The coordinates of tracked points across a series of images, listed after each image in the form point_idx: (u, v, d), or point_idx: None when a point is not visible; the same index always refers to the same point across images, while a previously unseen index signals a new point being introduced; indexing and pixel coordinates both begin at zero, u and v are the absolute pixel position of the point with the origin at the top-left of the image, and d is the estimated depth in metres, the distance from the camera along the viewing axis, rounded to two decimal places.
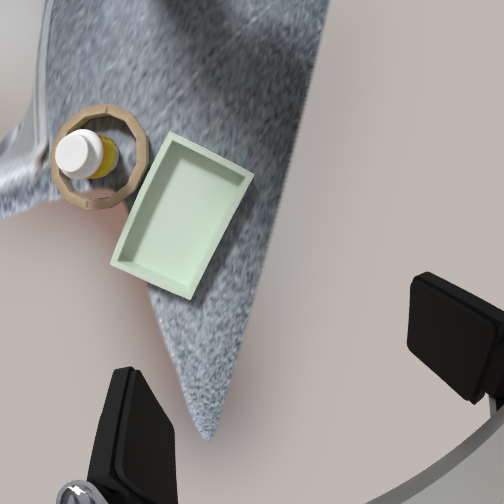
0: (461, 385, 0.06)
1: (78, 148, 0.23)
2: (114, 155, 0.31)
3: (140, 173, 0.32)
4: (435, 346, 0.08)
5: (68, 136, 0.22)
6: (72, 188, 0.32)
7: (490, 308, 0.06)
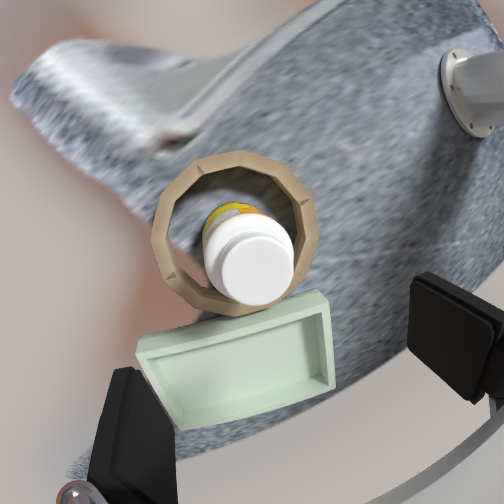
0: (461, 385, 0.06)
1: (274, 280, 0.16)
2: None
3: (260, 308, 0.25)
4: (435, 346, 0.08)
5: (280, 247, 0.15)
6: (168, 229, 0.23)
7: (490, 308, 0.06)
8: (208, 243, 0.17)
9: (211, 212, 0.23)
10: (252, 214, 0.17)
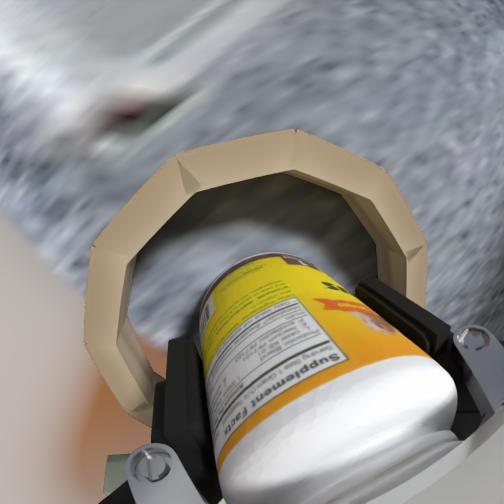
0: None
1: None
2: None
3: None
4: None
5: None
6: (125, 312, 0.10)
7: (428, 318, 0.06)
8: (234, 470, 0.04)
9: (218, 278, 0.10)
10: (395, 369, 0.04)
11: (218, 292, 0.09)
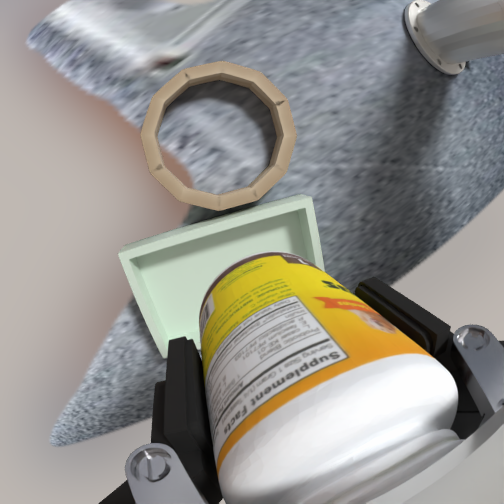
0: None
1: None
2: None
3: (243, 202, 0.25)
4: None
5: None
6: (157, 131, 0.24)
7: (428, 318, 0.06)
8: (234, 469, 0.04)
9: (218, 277, 0.10)
10: (395, 367, 0.04)
11: (218, 291, 0.09)
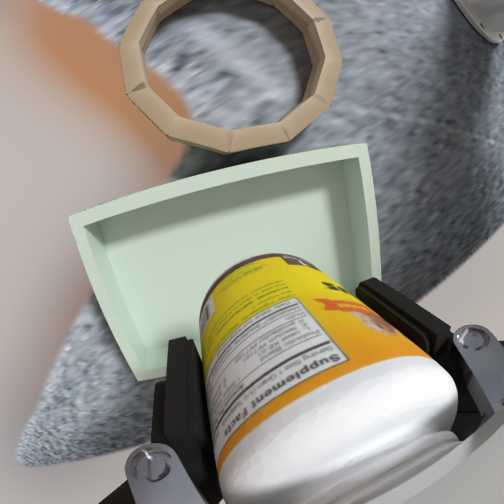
0: None
1: None
2: None
3: (267, 141, 0.16)
4: None
5: None
6: (145, 46, 0.14)
7: (428, 318, 0.06)
8: (234, 471, 0.04)
9: (218, 279, 0.10)
10: (395, 369, 0.04)
11: (218, 292, 0.09)
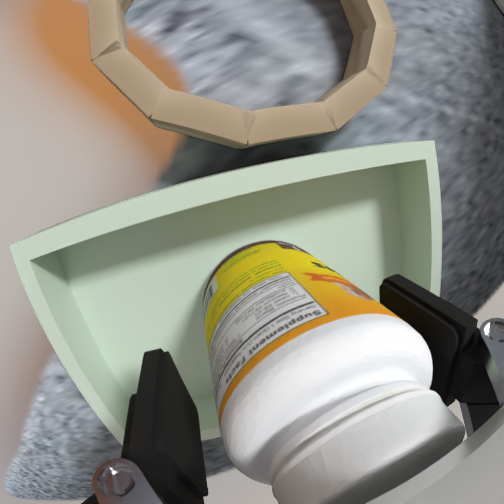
0: (430, 388, 0.07)
1: None
2: None
3: (304, 130, 0.10)
4: None
5: (458, 433, 0.03)
6: (126, 1, 0.08)
7: (456, 312, 0.06)
8: (234, 411, 0.05)
9: (220, 262, 0.11)
10: (367, 321, 0.05)
11: (220, 273, 0.11)
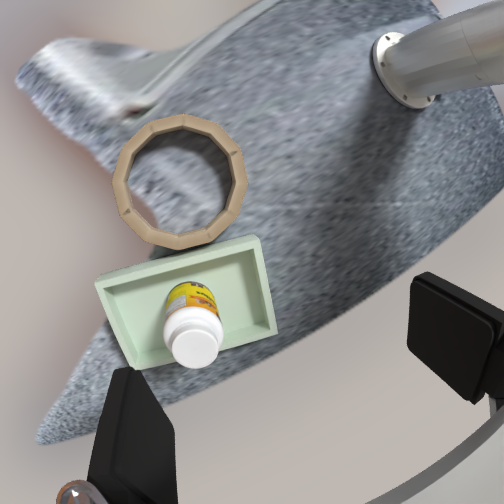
0: (461, 385, 0.06)
1: (205, 354, 0.23)
2: None
3: (198, 243, 0.29)
4: (435, 346, 0.08)
5: (207, 335, 0.22)
6: (127, 177, 0.27)
7: (490, 308, 0.06)
8: (164, 326, 0.24)
9: (172, 289, 0.31)
10: (193, 308, 0.24)
11: (170, 293, 0.30)
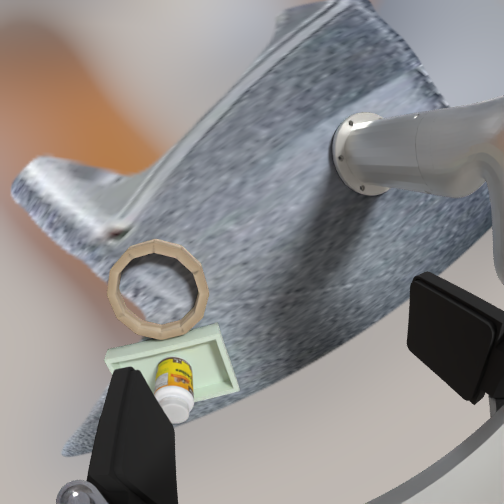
0: (461, 385, 0.06)
1: (180, 416, 0.32)
2: None
3: (175, 335, 0.38)
4: (435, 346, 0.08)
5: (180, 407, 0.31)
6: (118, 287, 0.36)
7: (490, 308, 0.06)
8: None
9: (160, 362, 0.40)
10: (171, 387, 0.33)
11: (159, 366, 0.39)
